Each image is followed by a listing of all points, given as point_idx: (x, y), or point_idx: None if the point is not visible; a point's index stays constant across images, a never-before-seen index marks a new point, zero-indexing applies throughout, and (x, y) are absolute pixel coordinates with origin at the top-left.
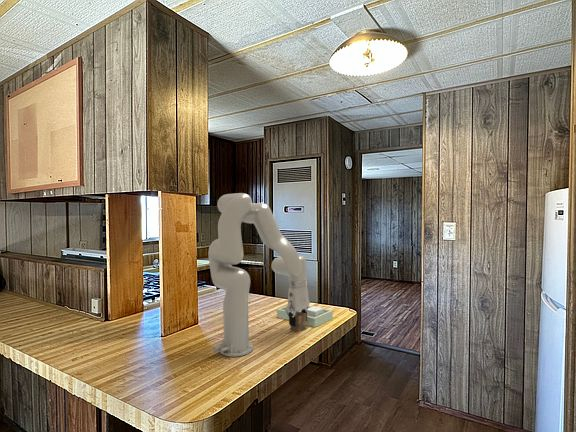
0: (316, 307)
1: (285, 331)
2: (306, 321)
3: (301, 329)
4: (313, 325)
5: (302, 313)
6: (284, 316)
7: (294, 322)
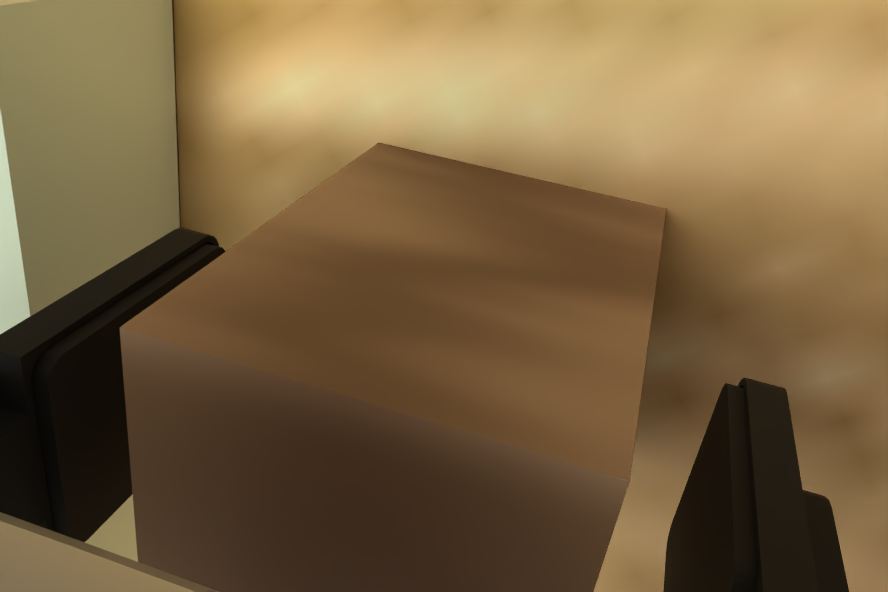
0: None
1: None
2: None
3: (562, 200)
4: (150, 34)
5: (203, 452)
6: None
7: (793, 467)
